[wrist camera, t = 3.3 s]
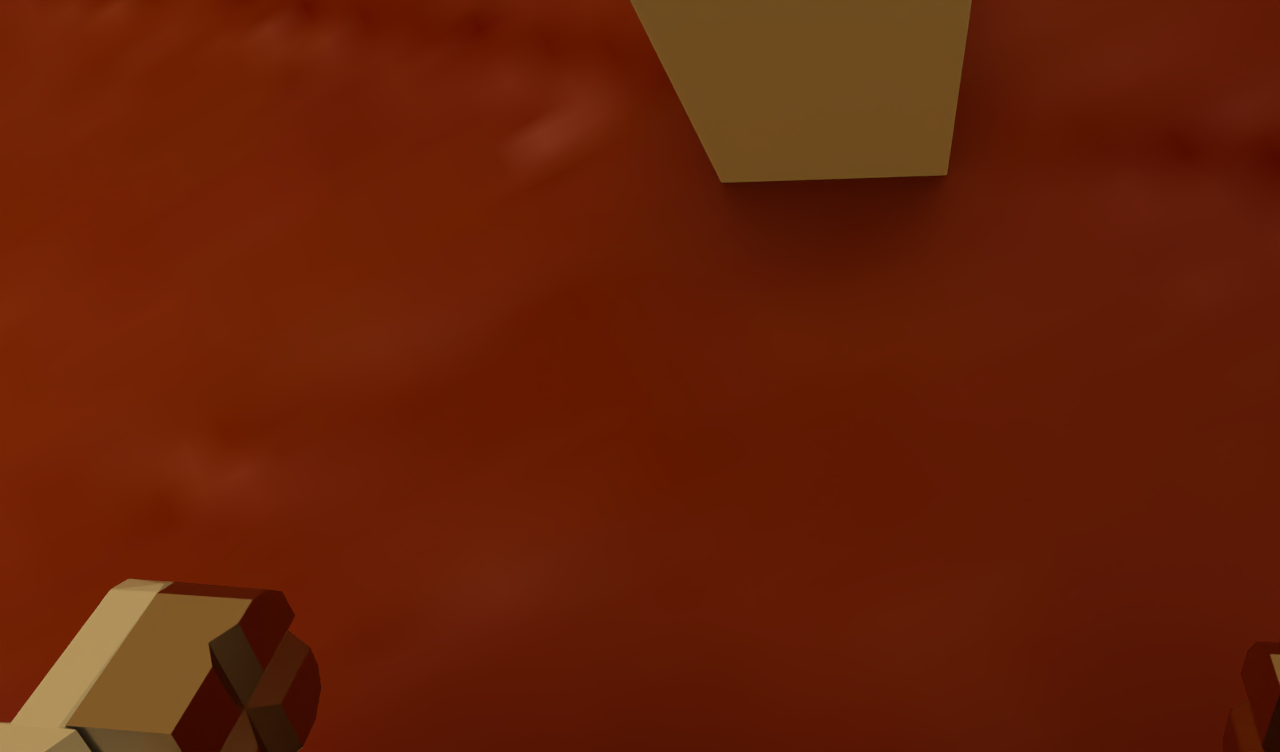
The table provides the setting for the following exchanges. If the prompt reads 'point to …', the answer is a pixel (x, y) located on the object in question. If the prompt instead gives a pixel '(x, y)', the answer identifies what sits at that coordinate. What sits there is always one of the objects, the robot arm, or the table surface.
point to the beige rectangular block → (815, 83)
